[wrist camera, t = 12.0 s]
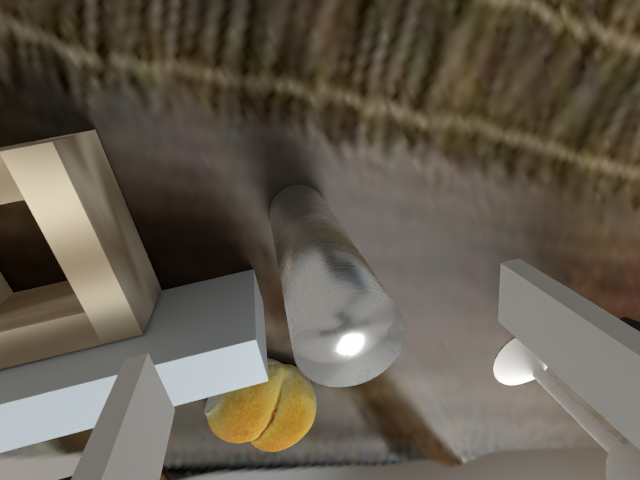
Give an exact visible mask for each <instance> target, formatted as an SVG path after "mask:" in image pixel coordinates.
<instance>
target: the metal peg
mask: <svg viewBox="0 0 640 480" xmlns="http://www.w3.org/2000/svg"><path fill="white" fill-rule="evenodd" d="M269 214H270V221H271V227H272V233H273V239H274V244H275V250H276V256H277V262H278V268H279V274H280V279H281V285H282V291H283V297H284V303H285V309H286V314H287V320H288V326H289V332H290V338H291V344H292V349H293V355H294V359H295V362H296V364H297V366H298V368H299V369H300V371H301V372H302V373H303V374H304V375H305V376H306V377H308V378H309V379H311V380H312V381H314V382H316V383H318V384H321V385H325V386H330V387H348V386H353V385H358V384H361V383H364V382H366V381H368V380H371V379H373V378H374V377H376V376H378V375H379V374H381V373H382V372H383V371H385V370H386V369H387V368H388V367H389V366H390V365H391V364H392V363H393V362H394V360H395V359H396V358H397V356H398V355H399V353H400V351H401V349H402V346H403V343H404V340H405V323H404V320H403V317H402V315H401V313H400V311H399V310H398V308H397V307H396V305H395V304H394V302H393V301H392V299H391V298H390V296H389V295H388V293H387V292H386V291H385V289H384V288H383V286H382V285H381V283H380V282H379V280H378V279H377V277H376V276H375V274H374V273H373V271H372V270H371V268H370V267H369V265H368V264H367V262H366V261H365V259H364V258H363V256H362V255H361V254H360V252H359V251H358V249H357V248H356V246H355V245H354V243H353V242H352V240H351V239H350V237H349V236H348V234H347V233H346V231H345V230H344V228H343V227H342V225H341V224H340V222H339V221H338V219H337V218H336V217H335V215H334V214H333V212H332V211H331V209H330V208H329V206H328V205H327V203H326V202H325V200H324V199H323V197H322V196H321V195H320V193H319V192H318V191H316V190H315V189H313V188H311V187H309V186H306V185H292V186H289V187H286V188H284V189H283V190H281V191H280V192H279V193H278V194H277V195H276V196H275V197H274V199H273V201H272V203H271V206H270V211H269Z"/></svg>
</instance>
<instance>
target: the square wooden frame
mask: <svg viewBox="0 0 640 480" xmlns="http://www.w3.org/2000/svg"><path fill="white" fill-rule="evenodd" d="M21 200H25V201H26V203H27V205H28V207H29V208H30V210H31V212H32V214H33V216H34V218H35V220H36V221H37V223H38V225H39V227H40V229H41V231H42V233H43V234H44V236H45V238H46V240H47V242H48V244H49V246H50V247H51V249H52V251H53V253H54V255H55V257H56V259H57V260H58V262H59V264H60V266H61V268H62V270H63V272H64V273H65V275H66V277H67V279H68V281H63V282H59V283H54V284H50V285H46V286H41V287H37V288H32V289H28V290H23V291H19V292H14V293H13V291H12V290H11V288H10V286H9V285H8V283H7V282H6V280H5V278H4V277H3V275H2V274H1V272H0V369H4V368H8V367H12V366H16V365H20V364H24V363H28V362H32V361H36V360H40V359H45V358H49V357H53V356H57V355H61V354H65V353H69V352H73V351H77V350H81V349H85V348H90V347H94V346H98V345H102V344H106V343H110V342H114V341H118V340H122V339H126V338H130V337H134V336H139V335H143V333H144V331H145V328H146V326H147V324H148V321H149V319H150V316H151V314H152V312H153V309H154V307H155V305H156V302H157V300H158V297H159V295H160V293H161V290H162V289H161V287H160V284H159V282H158V280H157V277H156V275H155V272H154V270H153V268H152V265H151V263H150V260H149V258H148V256H147V253H146V251H145V248H144V246H143V244H142V241H141V239H140V236H139V234H138V231H137V229H136V227H135V224H134V222H133V219H132V217H131V215H130V212H129V210H128V207H127V205H126V203H125V200H124V198H123V195H122V193H121V190H120V188H119V186H118V183H117V181H116V178H115V176H114V174H113V171H112V169H111V166H110V164H109V162H108V159H107V157H106V154H105V152H104V150H103V147H102V145H101V142H100V140H99V137H98V135H97V133H96V130H90V131H85V132H79V133H74V134H69V135H63V136H58V137H52V138H47V139H42V140H36V141H31V142H25V143H20V144H15V145H9V146H4V147H0V205H1V204H6V203H11V202H16V201H21Z"/></svg>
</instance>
